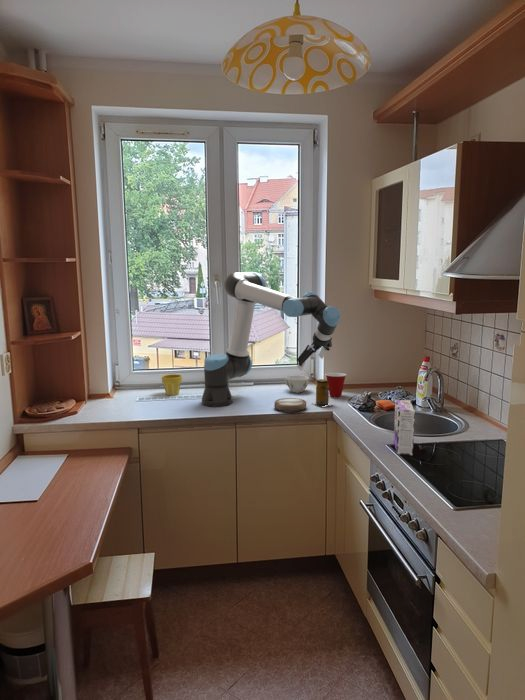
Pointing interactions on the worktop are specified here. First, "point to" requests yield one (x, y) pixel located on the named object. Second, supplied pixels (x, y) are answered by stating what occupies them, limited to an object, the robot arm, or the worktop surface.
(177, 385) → the plant pot
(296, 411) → the turntable base
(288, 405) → the disc
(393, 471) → the worktop surface
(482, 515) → the worktop surface
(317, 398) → the condiment
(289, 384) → the teacup
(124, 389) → the worktop surface
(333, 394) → the plastic cup
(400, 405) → the candy box
